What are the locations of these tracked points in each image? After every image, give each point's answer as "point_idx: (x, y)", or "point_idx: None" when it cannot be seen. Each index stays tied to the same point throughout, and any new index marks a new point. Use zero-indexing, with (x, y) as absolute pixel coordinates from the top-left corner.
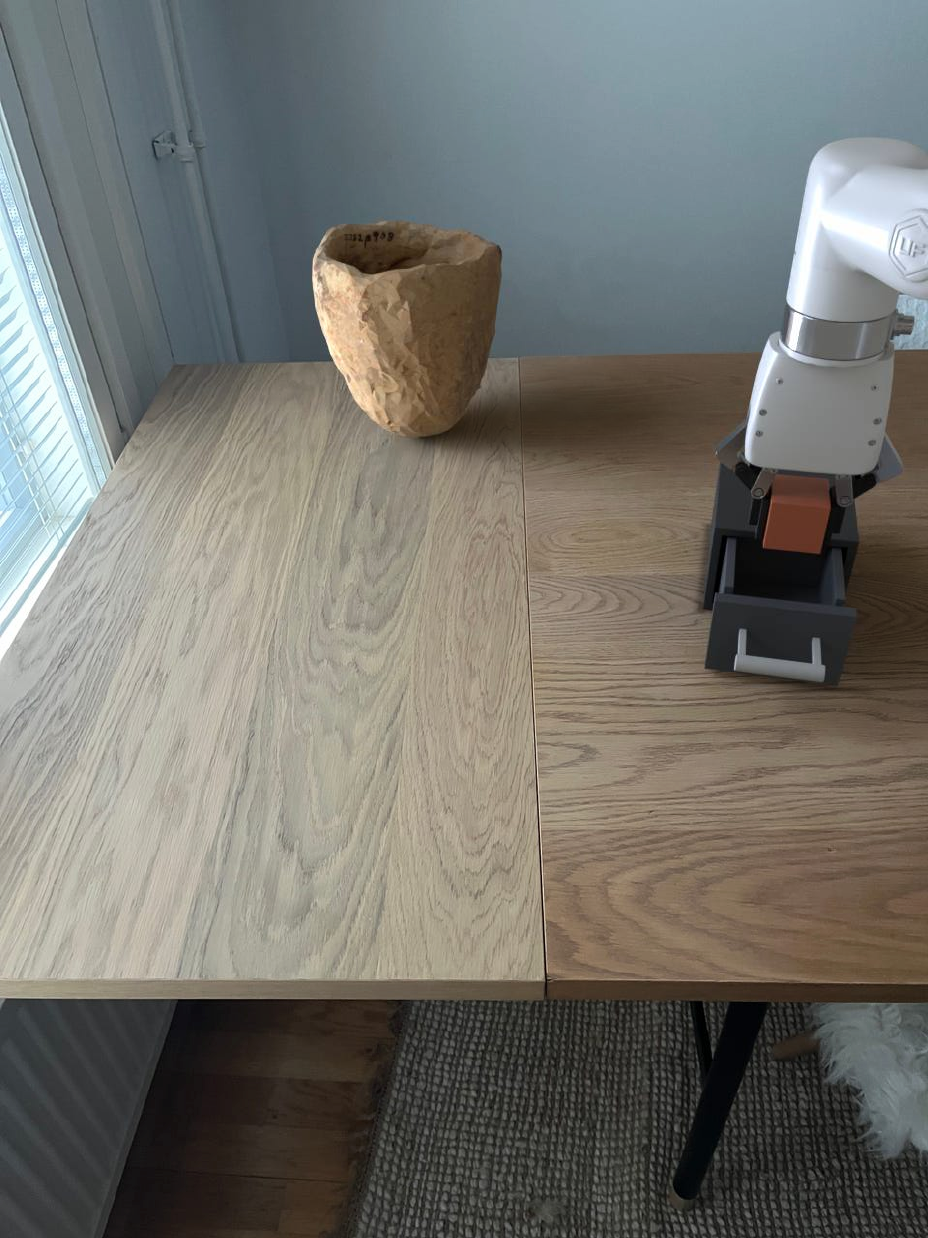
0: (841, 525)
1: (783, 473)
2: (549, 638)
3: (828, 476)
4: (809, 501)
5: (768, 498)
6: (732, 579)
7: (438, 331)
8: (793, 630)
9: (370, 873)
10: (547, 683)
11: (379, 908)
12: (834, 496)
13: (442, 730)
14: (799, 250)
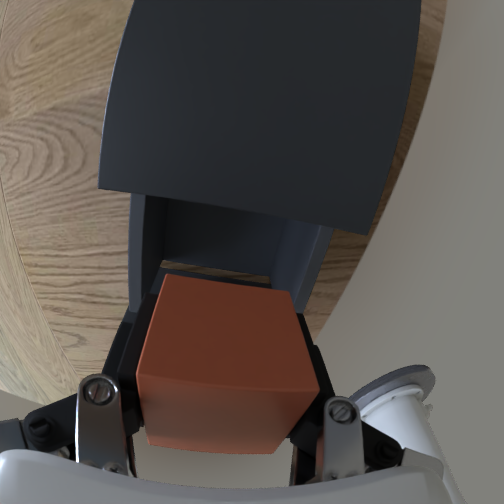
0: None
1: None
2: (21, 222)
3: (381, 8)
4: (232, 448)
5: (141, 419)
6: (139, 298)
7: None
8: None
9: (31, 380)
10: (35, 278)
11: (43, 392)
12: (294, 443)
13: (7, 314)
14: None
